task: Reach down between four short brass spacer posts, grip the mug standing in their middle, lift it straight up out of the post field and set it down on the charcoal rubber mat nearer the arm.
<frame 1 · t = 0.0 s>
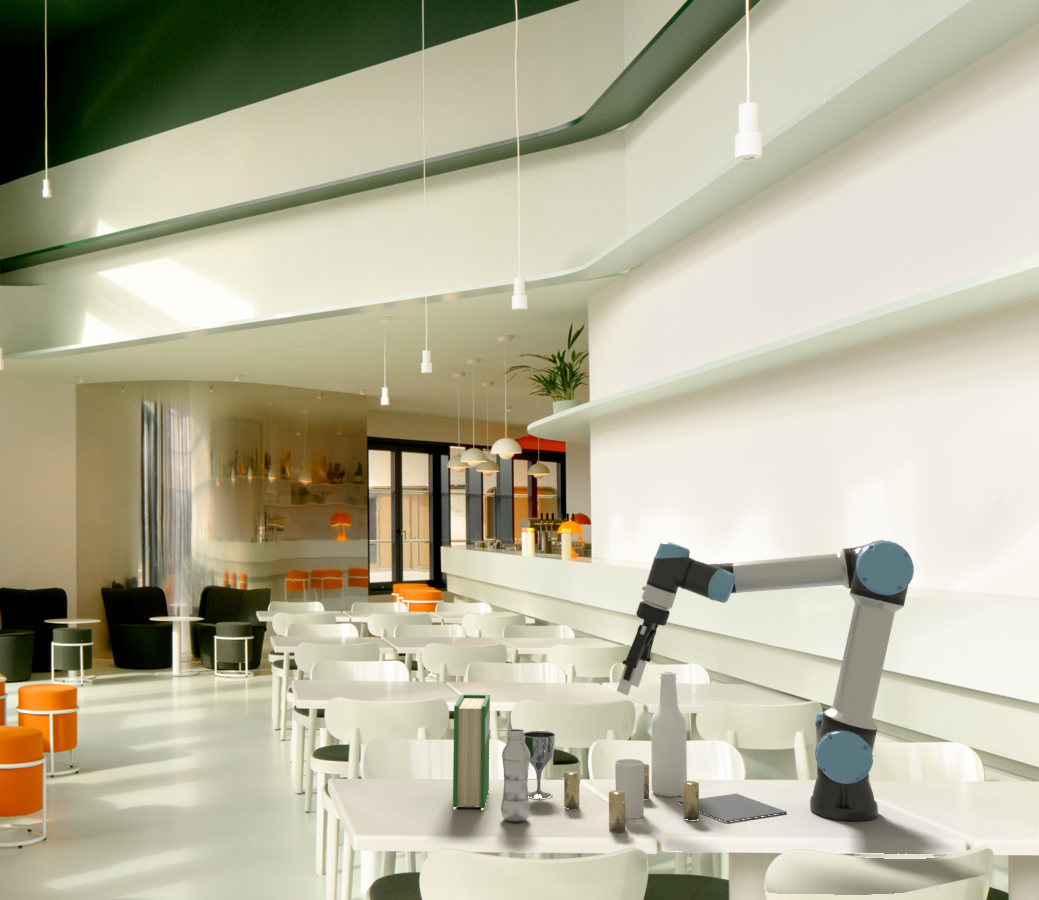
hand: (627, 689, 228), 28 cm above the table, tool tilted 20°, fingers open, 13 cm apart
spacer posts: (630, 813, 221), on the table
alcohol: (669, 794, 240), on the table
wine glass: (538, 796, 236), on the table
hardback book: (471, 801, 231), on the table
mug: (630, 814, 221), on the table
mat: (731, 808, 226), on the table
plastic bottle: (515, 821, 215), on the table
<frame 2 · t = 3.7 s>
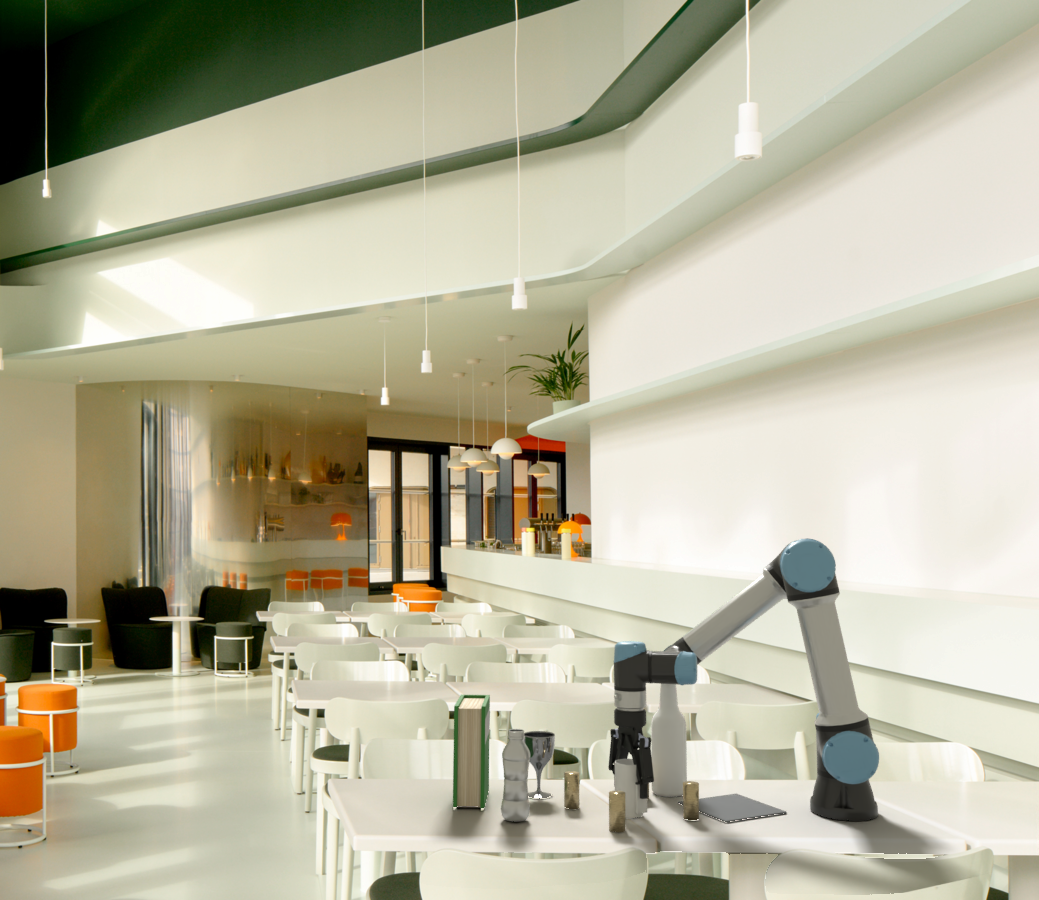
hand: (630, 807, 221), 1 cm above the table, tool pointing down, fingers closed on mug, 8 cm apart
mug: (629, 814, 221), on the table, touching gripper
everything else where it was.
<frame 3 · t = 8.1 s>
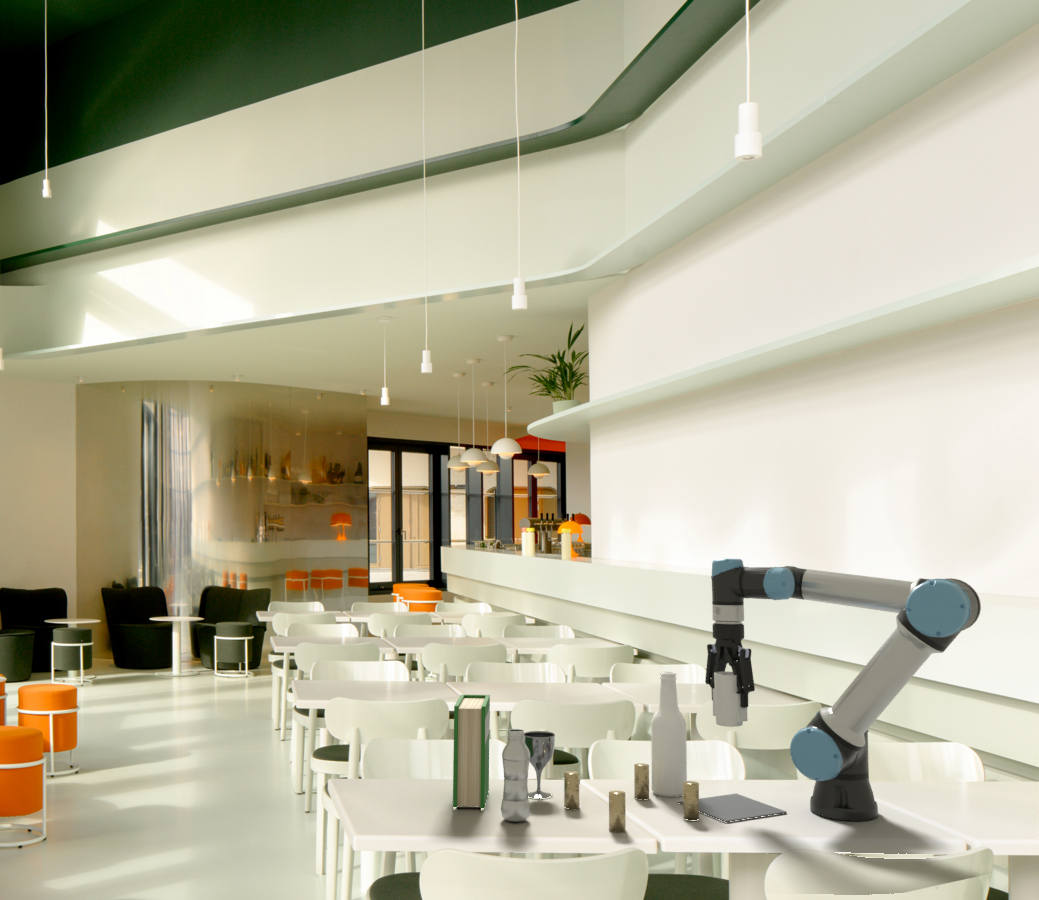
hand: (729, 718, 228), 21 cm above the table, tool pointing down, fingers closed on mug, 8 cm apart
mug: (728, 724, 228), point 20 cm above the table, touching gripper
everything else where it was.
when the fingers open (3 cm above the table, at t = 12.3 s): mug drops 1 cm, resting on mat.
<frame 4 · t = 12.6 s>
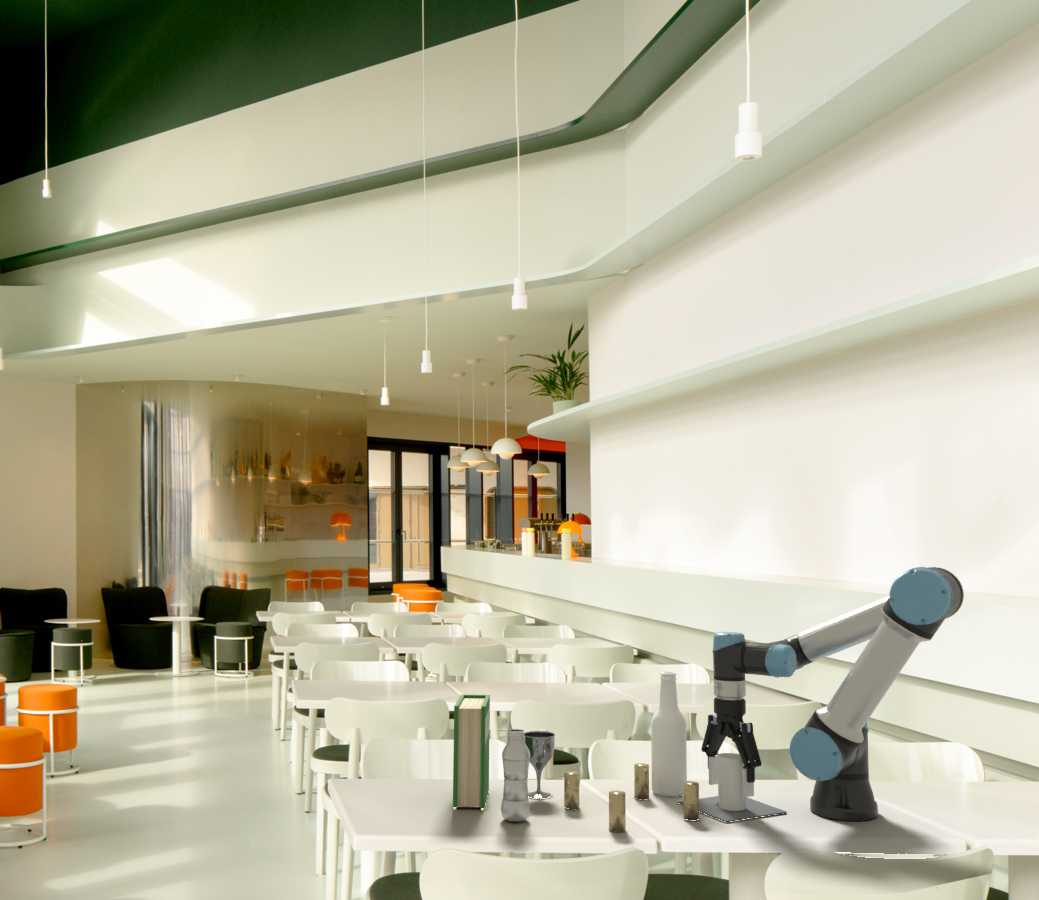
hand: (730, 790, 226), 4 cm above the table, tool pointing down, fingers open, 12 cm apart
mug: (732, 807, 226), resting on mat
everything else where it was.
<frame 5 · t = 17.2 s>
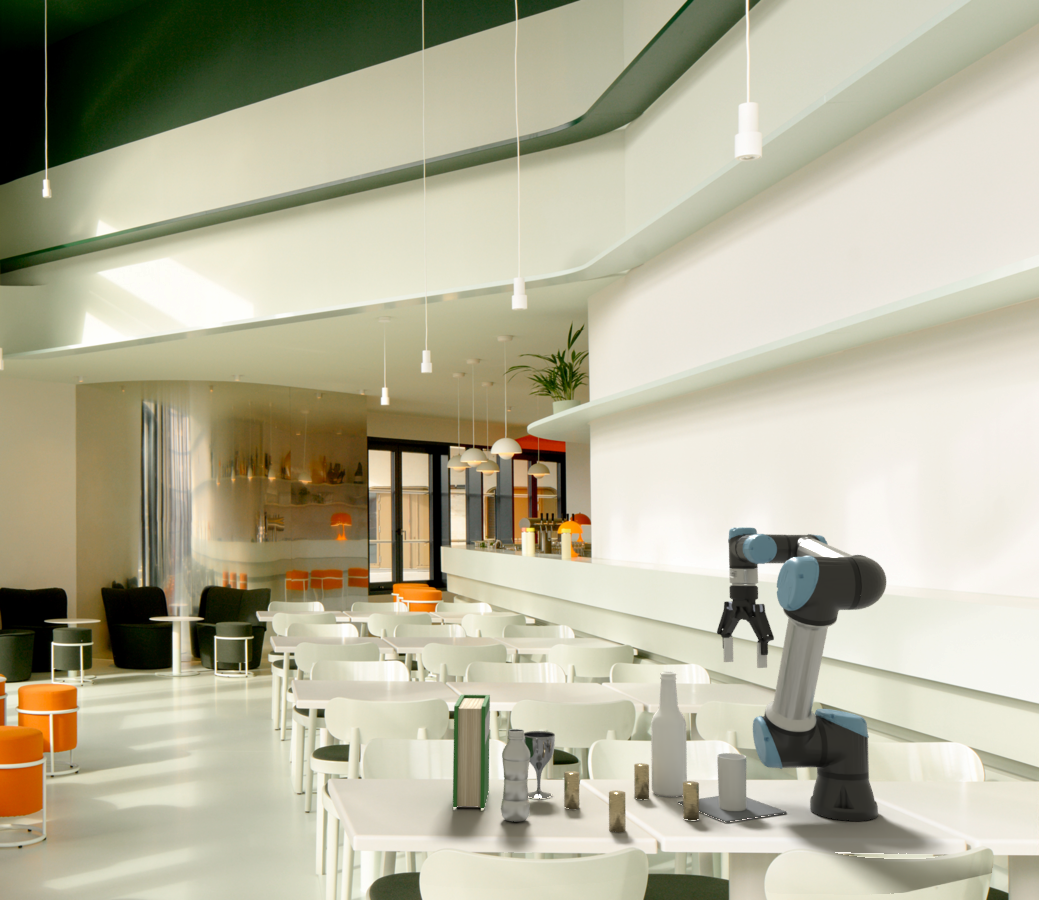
hand: (744, 664, 254), 31 cm above the table, tool pointing down, fingers open, 13 cm apart
nothing on the table moved.
at the end: mug inside the target area on the mat (0.4 cm from its centre), point 0.3 cm above the mat's base; mug tilted 0°; the gripper is holding nothing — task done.
